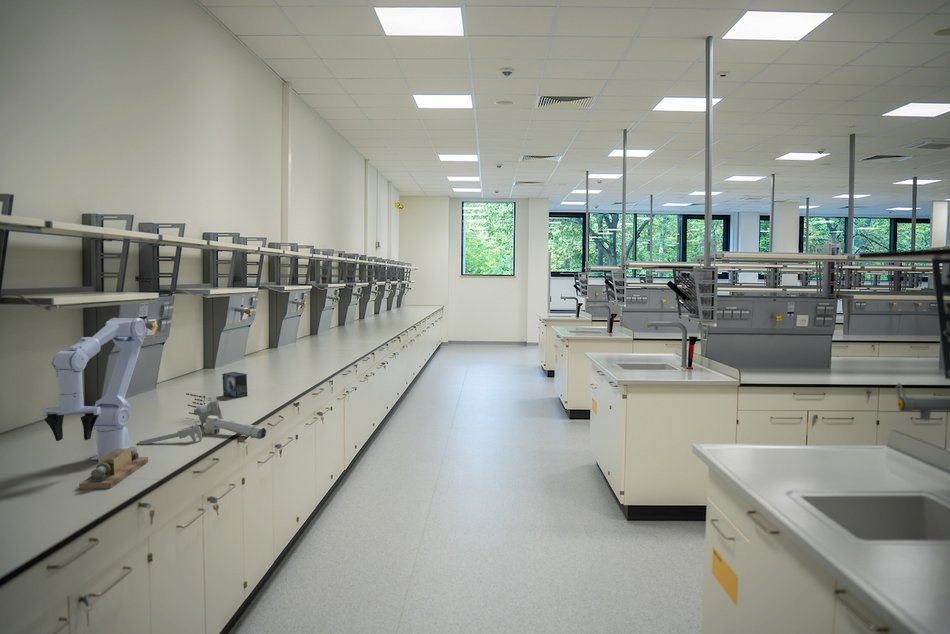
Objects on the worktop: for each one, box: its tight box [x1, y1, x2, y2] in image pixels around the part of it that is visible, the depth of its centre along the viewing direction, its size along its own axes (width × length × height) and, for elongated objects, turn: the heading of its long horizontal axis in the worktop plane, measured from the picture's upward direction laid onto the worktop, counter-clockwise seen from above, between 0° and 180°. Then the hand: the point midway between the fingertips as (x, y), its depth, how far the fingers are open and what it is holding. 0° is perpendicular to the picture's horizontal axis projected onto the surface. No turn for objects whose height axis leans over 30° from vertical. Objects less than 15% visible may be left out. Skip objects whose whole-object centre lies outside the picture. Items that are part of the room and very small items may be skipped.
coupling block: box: [98, 447, 132, 475], centre depth 171 cm, size 10×4×4 cm, turn 5°
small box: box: [222, 371, 248, 399], centre depth 278 cm, size 11×6×10 cm, turn 54°
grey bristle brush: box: [185, 392, 224, 427], centre depth 229 cm, size 27×11×10 cm, turn 57°
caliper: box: [135, 423, 203, 445], centre depth 203 cm, size 20×1×6 cm, turn 102°
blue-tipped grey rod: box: [202, 415, 267, 440], centre depth 212 cm, size 5×7×25 cm
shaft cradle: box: [78, 446, 149, 490], centre depth 171 cm, size 22×8×6 cm, turn 5°
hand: (73, 439), depth 173 cm, fingers open, 7 cm apart
